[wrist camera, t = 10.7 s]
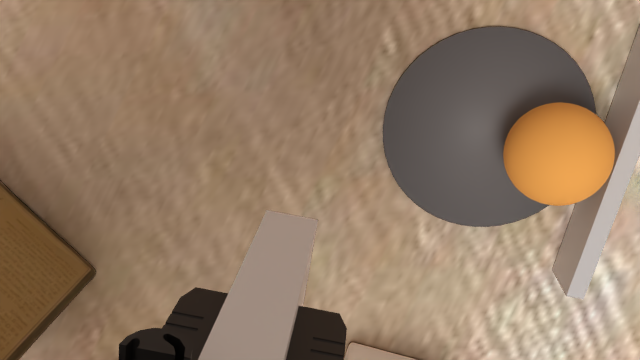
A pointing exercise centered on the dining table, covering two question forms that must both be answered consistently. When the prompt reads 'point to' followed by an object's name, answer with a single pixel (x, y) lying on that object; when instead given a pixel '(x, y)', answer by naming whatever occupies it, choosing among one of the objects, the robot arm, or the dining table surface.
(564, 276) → the wall
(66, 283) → the food packaging
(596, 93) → the dining table surface
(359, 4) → the dining table surface
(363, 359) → the medicine bottle
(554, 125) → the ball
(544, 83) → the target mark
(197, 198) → the dining table surface
